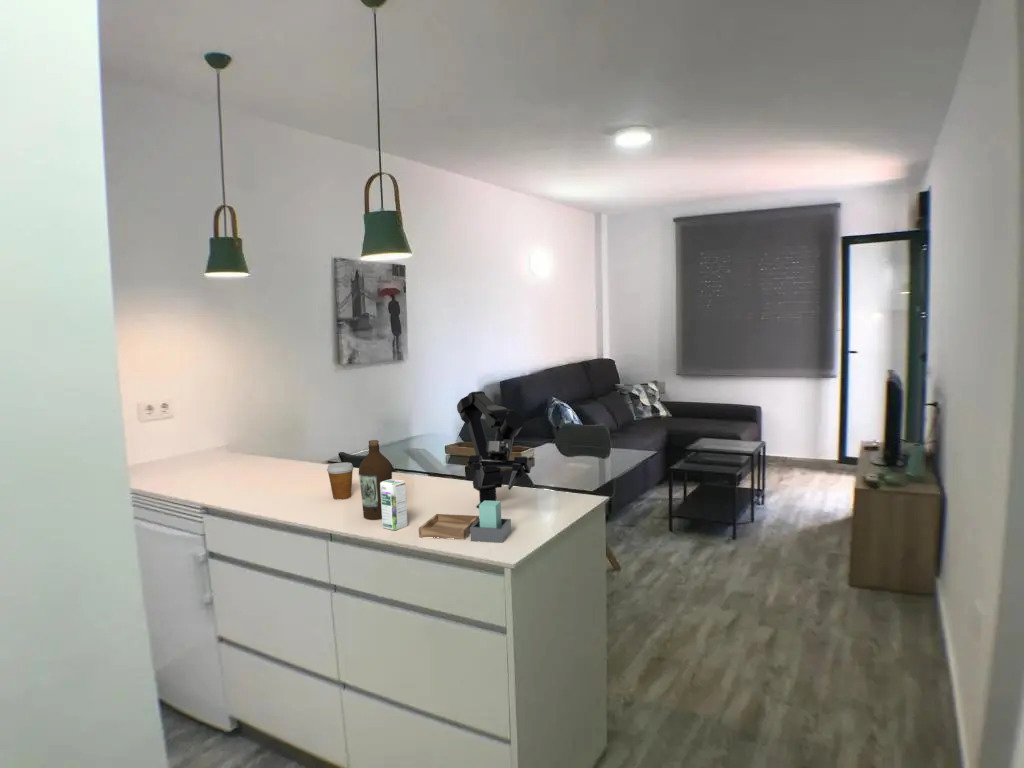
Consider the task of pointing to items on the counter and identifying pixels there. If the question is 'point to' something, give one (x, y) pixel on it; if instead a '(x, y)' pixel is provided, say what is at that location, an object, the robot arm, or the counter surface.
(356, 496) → the counter surface
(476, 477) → the robot arm
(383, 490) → the syrup box
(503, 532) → the holder
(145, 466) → the counter surface
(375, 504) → the olive oil
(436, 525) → the tray
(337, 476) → the disposable coffee cup
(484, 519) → the block
